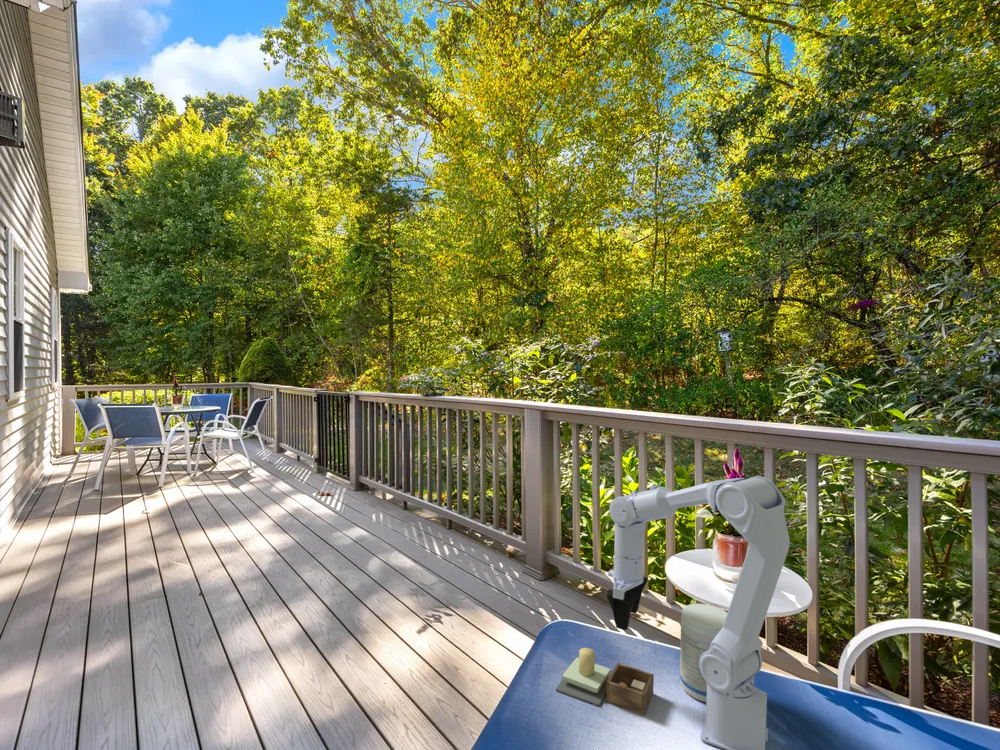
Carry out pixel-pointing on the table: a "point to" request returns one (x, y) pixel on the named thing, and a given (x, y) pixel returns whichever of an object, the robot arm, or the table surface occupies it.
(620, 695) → the box
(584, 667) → the lid
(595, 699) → the mat
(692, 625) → the supplement tub
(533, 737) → the table surface
